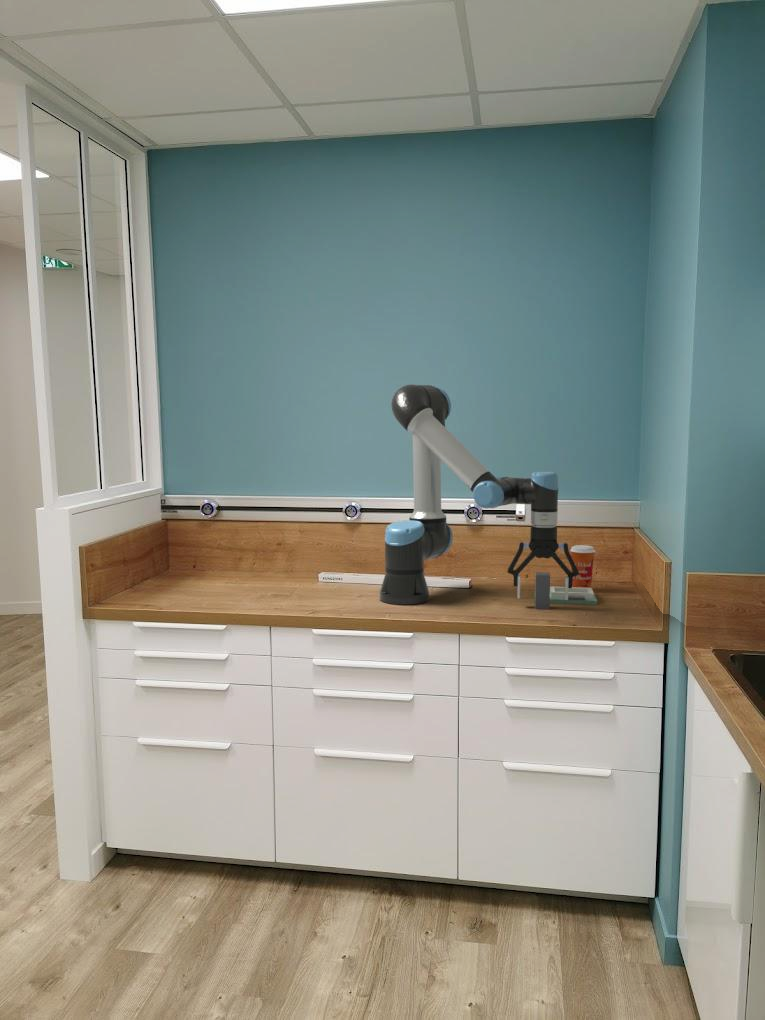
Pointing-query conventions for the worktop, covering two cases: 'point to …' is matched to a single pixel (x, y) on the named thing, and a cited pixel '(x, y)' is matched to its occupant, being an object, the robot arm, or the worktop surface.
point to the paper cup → (583, 565)
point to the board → (572, 595)
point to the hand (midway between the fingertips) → (542, 598)
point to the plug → (542, 590)
